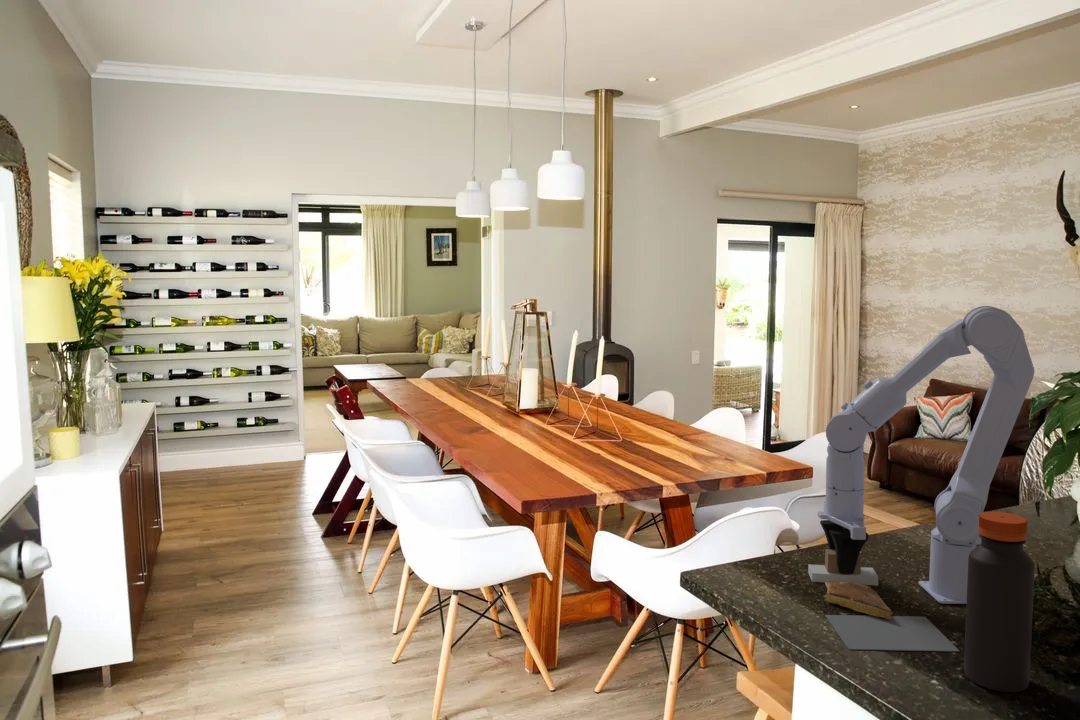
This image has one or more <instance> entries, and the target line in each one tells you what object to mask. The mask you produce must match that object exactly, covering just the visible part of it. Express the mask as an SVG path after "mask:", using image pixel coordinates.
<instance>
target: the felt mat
mask: <svg viewBox="0 0 1080 720" xmlns="http://www.w3.org/2000/svg"><path fill="white" fill-rule="evenodd" d="M824 616H825V618H826V619H827V621H828V622H829V624H830V626H832V628H833V630H835V632H836V633H837V634H838V636H839V638H840V639H841V640H842V642H843V644H844V645H845V647H846V648H847V649H848V650H849V651H852V650H854V651H888V652H889V651H897V652H898V651H900V652H902V651H903V652H939V653H940V652H943V653H944V652H945V653H947V652H948V653H953V652H954V653H955V652H956V653H960V652H961V651H960V650H959V649H958V647H956V646H955V644H953V643H952V642H951V641H950V640H949V638H947V636H946V635H944V634H943V633H942V632H941V631H940V630H939V629H938V627H936V625H934V624H933V623H932V622H931V620H929V619H928V618H927V617H926V616H917V615H915V616H910V615H908V616H907V615H905V616H904V615H902V616H901V615H897V616H896V615H891V619H890V620H889V619H886V618H883V617H876V616H872V615H859V614H858V615H857V614H856V615H854V614H853V615H852V614H851V615H850V614H849V615H847V614H845V615H844V614H843V615H842V614H825V615H824Z"/></svg>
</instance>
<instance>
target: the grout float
mask: <svg viewBox="0 0 1080 720" xmlns="http://www.w3.org/2000/svg"><path fill="white" fill-rule="evenodd" d="M824 553H825V554H824V555H825V557H824V558H825V559H824V564H808V567H807V568H808V570H807V572H808V575H809V577H810V580H811V583H825V582H852V583H859V584H862V585H866V586H879V575H878V574H877V572H876V570H874V568H873V567H862V555H861V554H860V553H861V552H860V553H859V556H858V559H857V563H856V567H855V570H854V572H853V574H841V573H839V570H838V566H837V558H836V550H834V549H829V548H825V552H824Z"/></svg>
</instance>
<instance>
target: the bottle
mask: <svg viewBox="0 0 1080 720" xmlns="http://www.w3.org/2000/svg"><path fill="white" fill-rule="evenodd" d="M978 532H979V537H980V538H981V544H980V545H979V546H977V547H976V548H974V549H973V550H972V551H971V552H970V554H969V557H968V579H967V603H966V604H965V605H966V606H965V607H966V610H965V630H964V631H965V632H964V633H965V634H964V653H963V654H964V657H963V671H964V675H965V676H966V677H967V678H968V679H969V680H970V681H971V682H973V683H974V684H976V685H978V686H981V687H982V688H985V689H988V690H992V691H995V692H1002V693H1018V692H1023V691H1024V690H1026V689H1027V688H1028V687H1029V685H1030V684H1029V683H1030V672H1031V671H1030V669H1031V668H1030V667H1031V649H1032V631H1033V630H1032V626H1033V611H1034V609H1033V607H1034V588H1035V571H1036V568H1035V567H1036V564H1035V562H1034V561H1033V559H1032V558H1031V556H1030V555H1029V554H1027V552H1026V551H1025V550H1024V545H1025V544H1026V542H1027V536H1028V520H1027V518H1025V517H1023V516H1021V515H1018V514H1015V513H1010V512H1003V511H983V513H981V514H980V515H979V531H978Z"/></svg>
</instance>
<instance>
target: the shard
mask: <svg viewBox="0 0 1080 720" xmlns="http://www.w3.org/2000/svg"><path fill="white" fill-rule="evenodd" d="M824 584H825V586H826V588H827V591H826V593H825V594H824V597H825V600H826V601H827V602H828V603H830V604H835V605H838V606H841V607H843V608H844V607H845V608H848V609H850V610H853V611H855V612H858V613H863V614H866V615H868V616H876V617H883V618H886V619H889V620H890V619H891V616H893V614H894V612H893V611H892V610H891V608H890V607H888V606H887V604H885V602H884V600H883V599H882V598H881V597H880V595H879V593H877V591H875V590H874V589H873V588H872V587H871V585H862V584H859V583H852V582H824Z"/></svg>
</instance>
